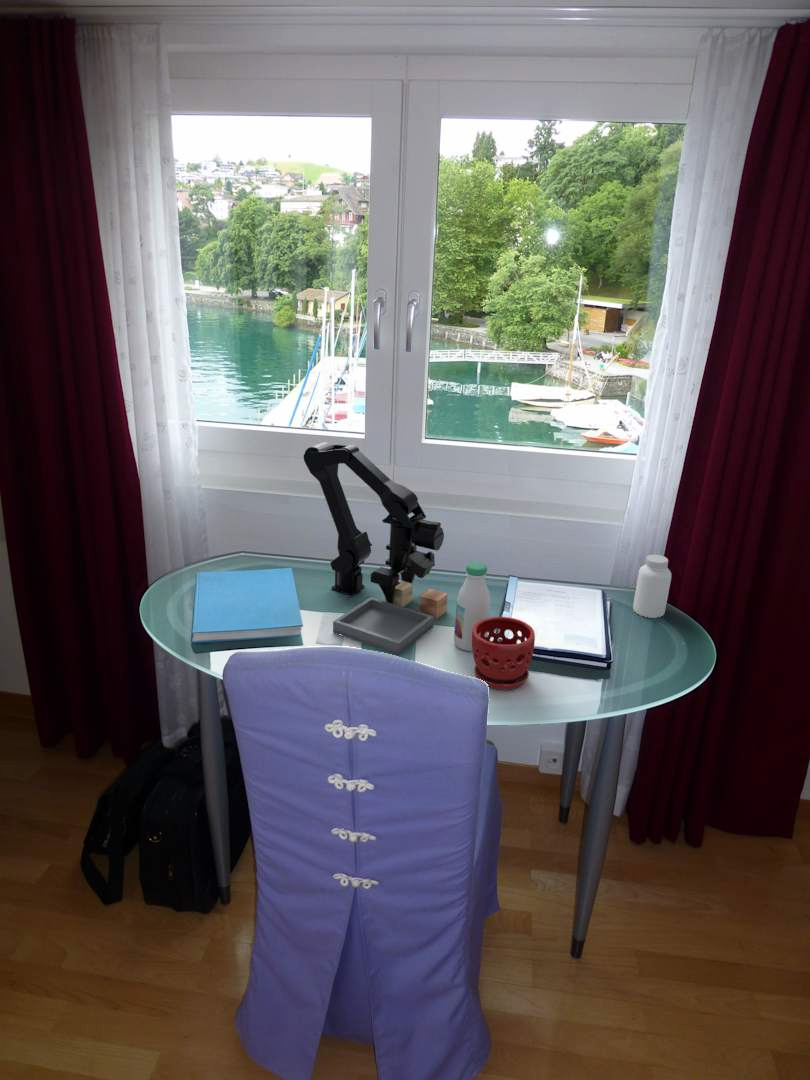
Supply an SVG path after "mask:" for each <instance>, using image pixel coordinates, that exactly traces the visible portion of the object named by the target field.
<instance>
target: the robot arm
mask: <svg viewBox="0 0 810 1080" xmlns="http://www.w3.org/2000/svg"><path fill="white" fill-rule="evenodd" d="M303 462H304V463H305V465H306V468H307V470H308V471H309V473H310V474H311V476H313V477H314V478H315V479H316V480H317V481H318V483H319V485H320V488H321V491H322V493H323V495H324V499H325V501H326V503H327V507H328V509H329V513H330V515H331V518H332V520H333V523H334V526H335V529H336V531H337V535H338V536H337V545H336V546H337V553H338V556H337V557H336V558H334V559H333V560H332V561H330V566H331V569H332V571H334V585H331V587H330V588H332V589H331V590H333V589H334V591H337V592H340V593H342V594H346V595H349V596H352V595H354V594H356V593H357V592H358V591H360V590H362V589H364V588H365V584H363V579H364V578H363V573H362V566H361V565H363V564H365V561H366V560H367V559H368V558H369V557H370V556H371V553H372V548H371V547H372V546H373V544H372V543H371V542H370V539H369V535H368V533H367V531H363V532H362V531H361V530H360V529H358V528H357V525H356V523H355V520H354V517H353V514H352V512H351V509H350V506H349V503H348V501H347V498H346V496H345V493H344V490H343V487H342V484H341V482H340V479H339V474H338V473H339V472H338V471H339V464H344V465H346V466H347V467H348V469H350V470H351V471H352V472H353V474H355V475H356V476H357V477H358V478H359V479H361V481H363V483H364V484H366V485H367V486H368V488H369V489H371V490H372V491H373V492H375V493H376V495H377V496H378V497H379V499H380V501H381V502H380V503H381V505H382V506H383V508H384V509H385V511H387V513H388V514H387V516H386V517H385V518H383V519H382V521H381V522H382V523H384V524H389V525H390V526H389V529H390V531H389V543H388V544H386V545H385V550H387V551H388V552H389V553H388V559H386V560H385V565H386V566H389V568H386V567H383V566H380V567H379V568H377V569H375V570H373V571H372V572H370V579H369V580H370V582H371V583H373V584H376V585H378V587H380V589H381V591H382V593H383V595H384V599H385V598H386V600H387V602H388V603H392V604H393V600H394V594H395V587H396V586H397V585H399V584H400V583H401V582H398V581H399V580H400V578H401V580H402V581H405V582H409V583H412V584H413V583H414V579H415V577H417V578H420V579H423V578H424V577H426V576H427V575H429V574H430V573H431V570H432V569H433V568H434V567H435V565H436V563H435V553H434V552H432V551H433V550H434V551H439V550H440V548H441V547H442V545H443V542H444V537H445V533H444V529H443V528H442V527H441V525H442V523H441V522H439V521H430V520H427V518H426V517H427V515H426V514H425V512H424V509H422V506H421V505H420V503H419V501H418V500H419V497H418V495H416V493H415V492H413V491H412V490H411V489H409V488H408V487H406V486H404V485H403V484H400V483H397V482H395V481H393V480H391V479H390V478H389V476H387V475H386V474H385V473H384V472H383V471H382V470H380V468H378V466H377V465H375V463H373V462H372V461H371V460H370V459H369V458H368V457H367V456H366V455H364V453H362V452H361V451H360V448H359V447H358V446H357V445H355V444H346V445H345V444H340V443H339V444H332V443H330V442H328V441H322V442H320V443H317V444H315V445H312V446H310V447H308V448H306V450H305V452H304V454H303ZM411 514H413V515H412V516H409V515H411ZM418 547H419V548H423V549H428V550H432V551H428V552H423V551H419V550H417V548H418Z"/></svg>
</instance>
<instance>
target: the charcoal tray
mask: <svg viewBox="0 0 810 1080" xmlns="http://www.w3.org/2000/svg"><path fill="white" fill-rule="evenodd" d="M434 619H435V618H434V616H430V615H427V614H424V613H421V612H419V611H417V610H414V609H410V608H407V607H406V606H404V607H401V606H398V605H395V604H392V603H388V602H385V600H382V599H378V598H375V597H372V596H371V597H369V598H366V599H365V600H364V601H362V602H360V603H359V604H358V605H357V606H355V607H352V608H351V609H350V610H348V611H347V612H344V614H342V615H341V616H339V617H338V618H336V619H334V620H333V621H332V633H333V632H334V633H333V634H335V633H337V634H336V635H338V634H341V635H343V636H342V637H344V636H345V638H347V639H350V640H353V641H356V642H359V643H362V644H365V645H368V646H370V647H374V648H375V649H379V650H382V651H384V652H385V651H386V652H387V653H391V654H394V655H396V656H399V655H400V654H402V653H403V652H404V651H405V650H407V649H408V648H409V647H410V646H412V645H413V644H414V643H415V642H417V641H418V640H419V639H421V638H422V637H423V636H425V635H426V634H427V633H428V632H430V631H431V630H432V629H433V628H434V622H435V621H434ZM341 635H340V636H341Z"/></svg>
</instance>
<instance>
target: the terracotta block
mask: <svg viewBox="0 0 810 1080" xmlns="http://www.w3.org/2000/svg"><path fill="white" fill-rule="evenodd" d="M447 607H448V593H445V592H443V591H439V590H436V589H431V588H428V589H427V590H426V591H424V592H423V593H421V595H419V606H418V610H419V611H418V612H421V613H424V614H427V615H430V616H434V619H436V620H438V619H439V618H441V616H443V615H444V614H445V613H446V612H447V609H448V608H447Z"/></svg>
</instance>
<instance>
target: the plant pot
mask: <svg viewBox="0 0 810 1080" xmlns="http://www.w3.org/2000/svg"><path fill="white" fill-rule="evenodd" d="M496 629H498V630H499V632H495V630H496ZM507 630H508V631H510V632H512V634H513V635H512V638H508V637H507V636H506V635H505V632H506V631H507ZM486 632H488V636H487V637H485V636H484V635H485V633H486ZM518 632H520V633H521V636H520V635H519V634H518ZM479 633H480V636H479ZM535 636H536V634H535V630H534V628H533V627H532V626H531V625H530V624H529V623H527V622H525V621H523V620H520V619H517V618H513V617H509V616H508V617H507V616H493V617H489V618H487V619H484V620H481V621H479V622H477V623H476V624H475V625H474V627H473V630H472V651H473V652H472V651H471V652H472V656H473V660H474V663H475V667H474V675H475V676H476V679H478V678H479V679H481V680H483V681H485V682H486V683H487V684H488V685H489V687H488V688H490V689H491V688H492V689H495V688H496V690H502V689H507V690H513V689H517V688H519V687H521V686H523V685H524V684H525V683H526V682H527V681H528V679H529V677H530V673H529V669H528V668H529V666H530V664H531V662H532V660H533V659H532V658H533V654H534V650H535V642H536V639H535ZM491 638H493V640H491ZM499 638H500V639H502V640H501V641H499ZM518 641H519V643H518Z"/></svg>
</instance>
